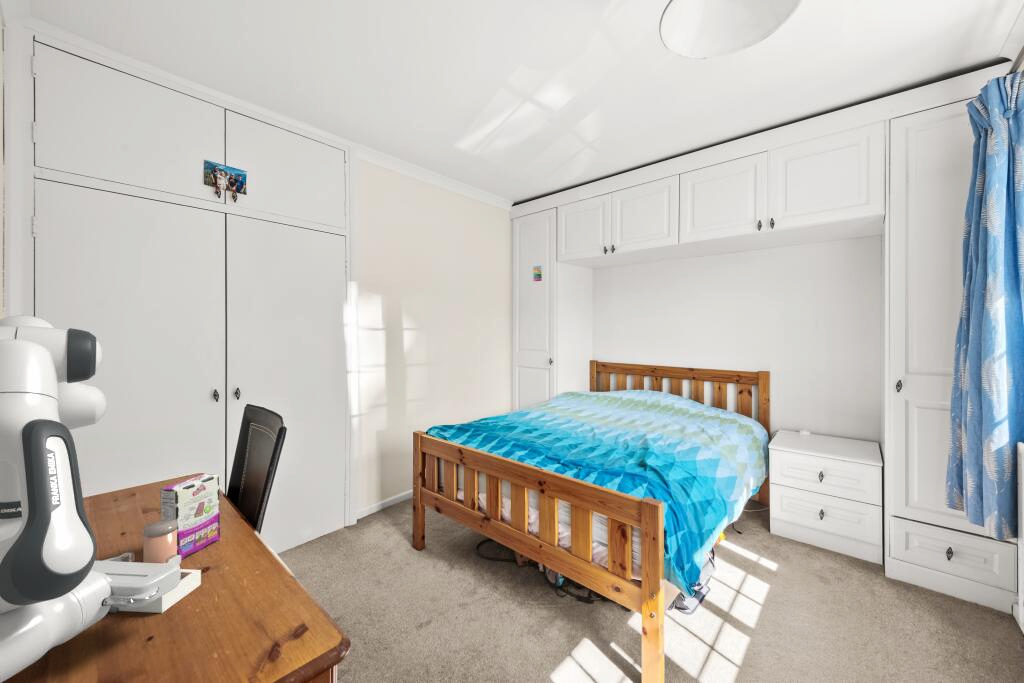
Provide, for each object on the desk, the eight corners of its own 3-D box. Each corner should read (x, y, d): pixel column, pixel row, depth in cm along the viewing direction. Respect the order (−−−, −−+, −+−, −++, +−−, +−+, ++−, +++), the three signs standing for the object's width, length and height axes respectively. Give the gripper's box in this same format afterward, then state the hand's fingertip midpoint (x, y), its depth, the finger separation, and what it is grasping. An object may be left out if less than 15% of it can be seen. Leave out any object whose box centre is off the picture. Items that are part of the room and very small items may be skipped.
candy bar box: (204, 537, 108) (204, 472, 107) (220, 539, 107) (220, 474, 106) (159, 560, 97) (159, 488, 96) (177, 562, 96) (177, 490, 95)
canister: (135, 604, 81) (135, 531, 80) (159, 588, 86) (159, 519, 86) (161, 605, 80) (161, 532, 80) (184, 589, 86) (184, 520, 85)
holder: (116, 610, 79) (116, 594, 79) (159, 582, 88) (159, 568, 88) (162, 612, 78) (162, 596, 78) (200, 584, 87) (200, 569, 87)
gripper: (137, 585, 67) (205, 543, 81) (17, 579, 69) (105, 539, 82) (137, 625, 67) (205, 576, 81) (18, 618, 69) (105, 571, 82)
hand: (154, 557), depth 82 cm, fingers open, 8 cm apart
